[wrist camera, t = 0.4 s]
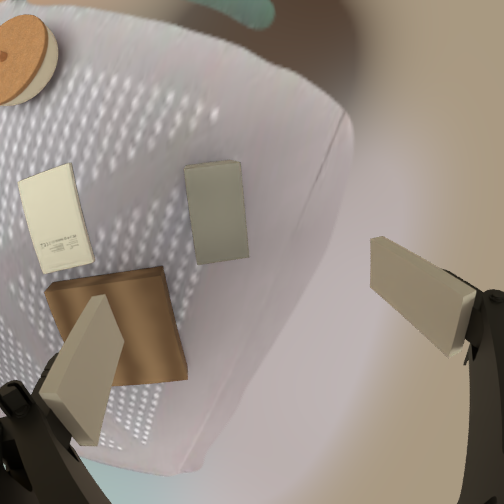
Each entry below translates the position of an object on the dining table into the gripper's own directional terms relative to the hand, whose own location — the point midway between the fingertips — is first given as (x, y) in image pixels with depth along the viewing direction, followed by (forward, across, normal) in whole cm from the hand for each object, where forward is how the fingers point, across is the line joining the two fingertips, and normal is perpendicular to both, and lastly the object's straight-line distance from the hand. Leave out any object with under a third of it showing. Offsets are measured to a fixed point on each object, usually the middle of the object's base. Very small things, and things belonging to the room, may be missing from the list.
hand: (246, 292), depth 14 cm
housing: (+22, 0, +1) cm, 22 cm away
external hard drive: (+23, -20, +3) cm, 31 cm away
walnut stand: (+22, -16, -13) cm, 30 cm away
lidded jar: (+22, -20, +23) cm, 38 cm away
